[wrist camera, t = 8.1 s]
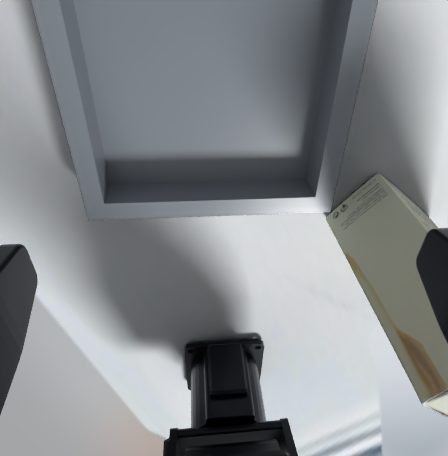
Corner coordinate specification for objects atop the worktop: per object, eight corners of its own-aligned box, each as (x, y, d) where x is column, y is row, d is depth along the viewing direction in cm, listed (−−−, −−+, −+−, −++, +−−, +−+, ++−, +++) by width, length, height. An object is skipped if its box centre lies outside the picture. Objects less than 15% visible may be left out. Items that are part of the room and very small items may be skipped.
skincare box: (321, 216, 24) (413, 404, 14) (377, 168, 22) (526, 347, 12) (380, 260, 27) (490, 443, 17) (434, 221, 25) (592, 400, 15)
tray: (317, 188, 22) (330, 212, 20) (97, 194, 22) (88, 220, 20) (372, -99, 15) (401, -106, 13) (28, -106, 14) (1, -115, 12)
